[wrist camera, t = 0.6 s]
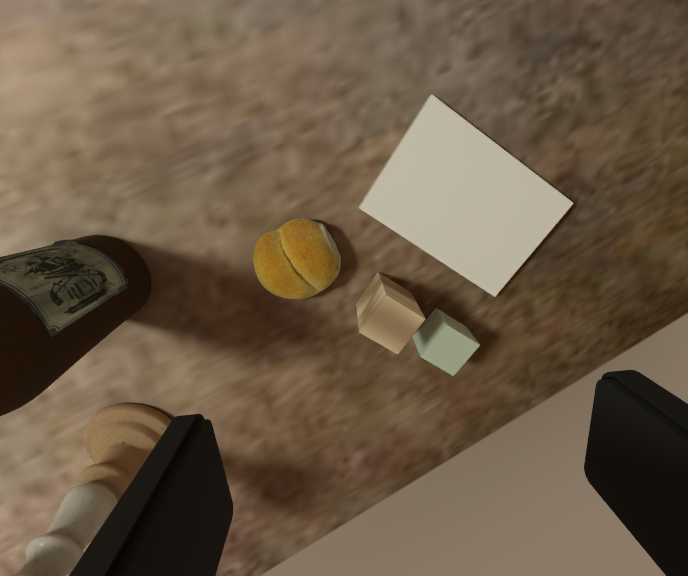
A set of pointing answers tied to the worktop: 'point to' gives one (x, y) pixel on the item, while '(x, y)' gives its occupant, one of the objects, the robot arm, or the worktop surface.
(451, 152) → the ceramic tile
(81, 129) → the worktop surface
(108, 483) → the candle holder
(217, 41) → the worktop surface
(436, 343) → the sage cube
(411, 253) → the worktop surface
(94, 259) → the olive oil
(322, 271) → the bread roll
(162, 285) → the worktop surface
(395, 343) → the maple block
